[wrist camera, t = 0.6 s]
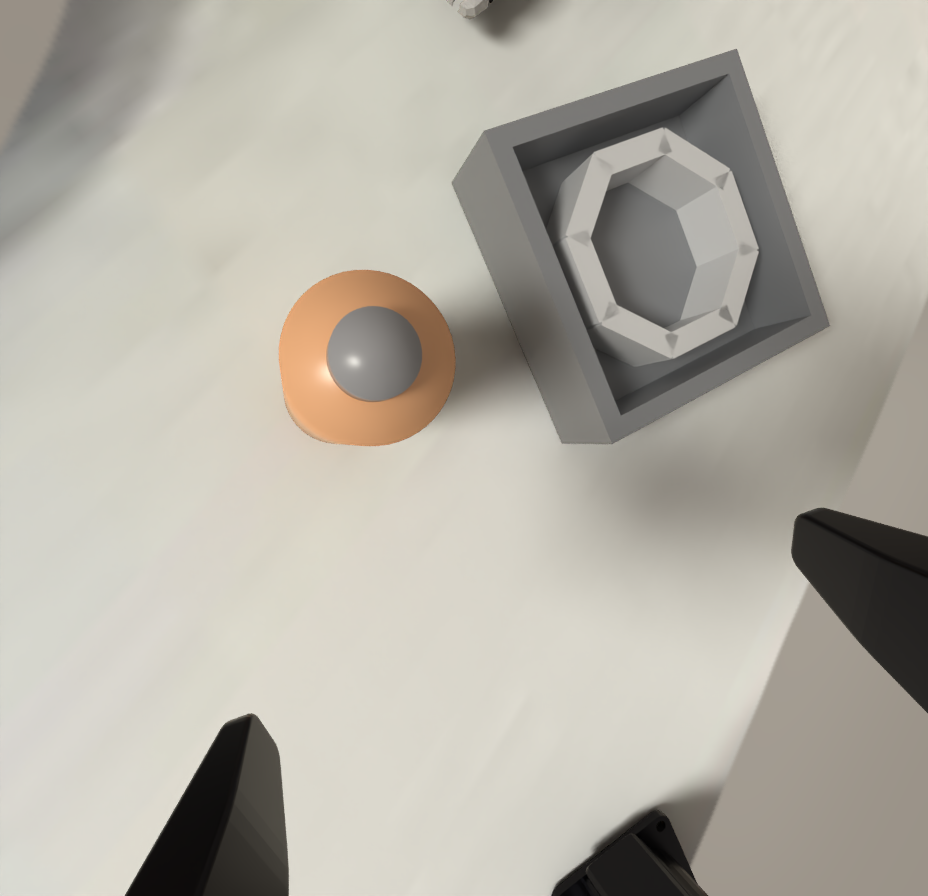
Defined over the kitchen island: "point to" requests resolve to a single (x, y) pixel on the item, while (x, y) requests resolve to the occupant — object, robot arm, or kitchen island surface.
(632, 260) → the housing
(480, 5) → the robot toy
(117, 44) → the kitchen island surface
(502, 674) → the kitchen island surface
